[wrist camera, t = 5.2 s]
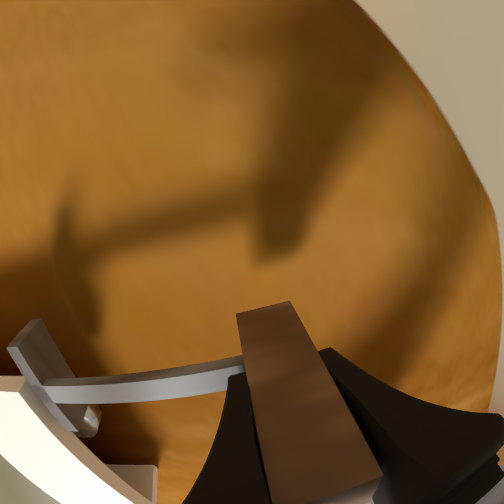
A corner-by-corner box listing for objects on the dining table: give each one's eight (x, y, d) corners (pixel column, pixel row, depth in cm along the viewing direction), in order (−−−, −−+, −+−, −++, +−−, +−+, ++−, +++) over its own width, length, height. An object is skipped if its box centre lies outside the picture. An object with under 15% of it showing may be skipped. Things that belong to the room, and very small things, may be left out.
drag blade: (284, 265, 12) (398, 440, 3) (299, 367, 14) (362, 514, 5) (30, 319, 11) (-55, 432, 3) (79, 399, 13) (39, 514, 4)
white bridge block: (58, 332, 15) (18, 392, 9) (157, 468, 20) (156, 517, 15) (-25, 344, 14) (-58, 383, 8) (71, 464, 19) (62, 503, 13)
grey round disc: (82, 380, 16) (75, 397, 14) (112, 421, 18) (108, 438, 16) (40, 382, 16) (32, 397, 14) (70, 421, 17) (64, 436, 16)
